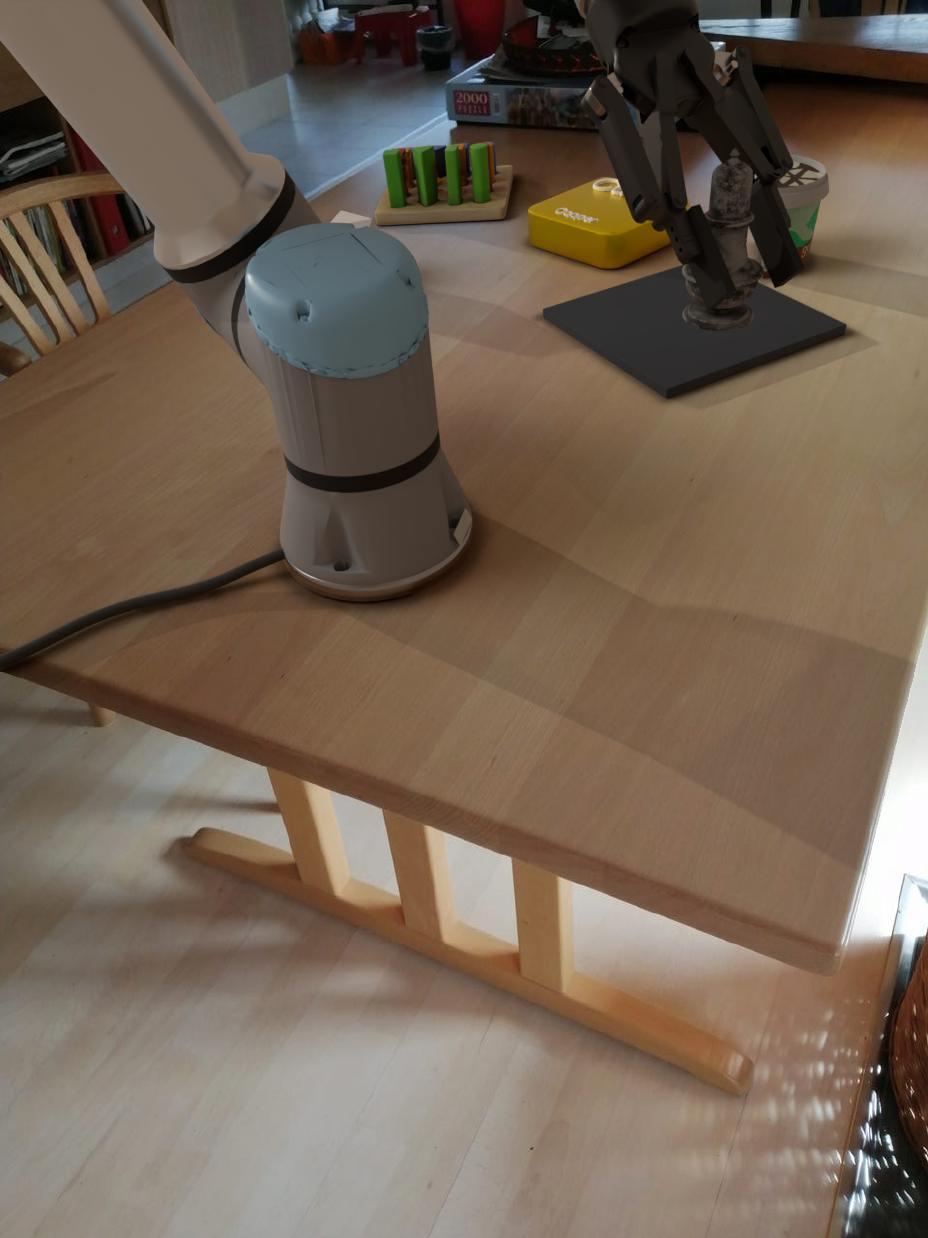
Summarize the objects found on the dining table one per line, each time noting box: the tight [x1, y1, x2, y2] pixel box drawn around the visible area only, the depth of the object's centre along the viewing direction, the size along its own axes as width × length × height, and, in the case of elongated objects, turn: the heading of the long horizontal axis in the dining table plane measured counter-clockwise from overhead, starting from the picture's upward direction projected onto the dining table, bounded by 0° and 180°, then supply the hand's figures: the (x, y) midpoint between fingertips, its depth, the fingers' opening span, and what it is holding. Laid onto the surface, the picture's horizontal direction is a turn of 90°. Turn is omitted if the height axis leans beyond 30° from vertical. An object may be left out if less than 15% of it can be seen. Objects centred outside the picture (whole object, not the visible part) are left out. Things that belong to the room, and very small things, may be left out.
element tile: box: [527, 176, 691, 270], centre depth 122 cm, size 15×15×5 cm
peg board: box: [374, 141, 514, 226], centre depth 136 cm, size 18×17×9 cm
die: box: [329, 209, 381, 230], centre depth 117 cm, size 8×9×10 cm
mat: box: [542, 264, 847, 399], centre depth 104 cm, size 22×22×1 cm
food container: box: [761, 154, 830, 279], centre depth 111 cm, size 12×6×10 cm, turn 168°
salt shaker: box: [682, 148, 764, 331], centre depth 72 cm, size 6×6×12 cm
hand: (755, 288), depth 71 cm, fingers closed on salt shaker, 5 cm apart
